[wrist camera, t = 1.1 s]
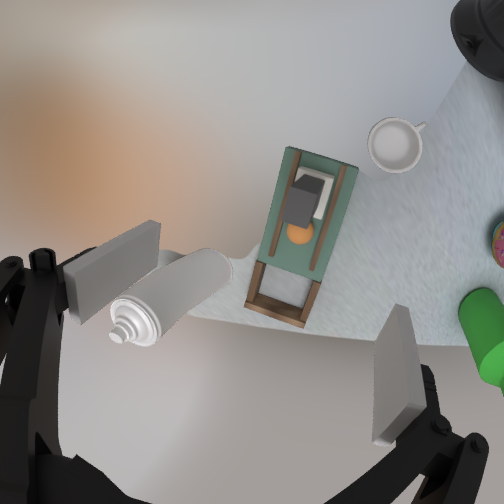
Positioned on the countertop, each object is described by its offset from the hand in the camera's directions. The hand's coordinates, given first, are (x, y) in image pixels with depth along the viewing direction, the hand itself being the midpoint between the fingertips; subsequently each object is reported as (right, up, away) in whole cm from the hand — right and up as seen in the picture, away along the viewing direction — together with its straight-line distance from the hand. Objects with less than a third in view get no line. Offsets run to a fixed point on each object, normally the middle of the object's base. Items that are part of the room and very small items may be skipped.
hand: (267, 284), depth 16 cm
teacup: (+21, +18, +25) cm, 37 cm away
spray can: (-10, -1, +44) cm, 45 cm away
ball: (+6, +5, +30) cm, 31 cm away
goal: (+5, -4, +39) cm, 40 cm away
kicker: (+8, +11, +29) cm, 32 cm away
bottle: (+40, -8, +29) cm, 50 cm away
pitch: (+8, +8, +33) cm, 35 cm away
